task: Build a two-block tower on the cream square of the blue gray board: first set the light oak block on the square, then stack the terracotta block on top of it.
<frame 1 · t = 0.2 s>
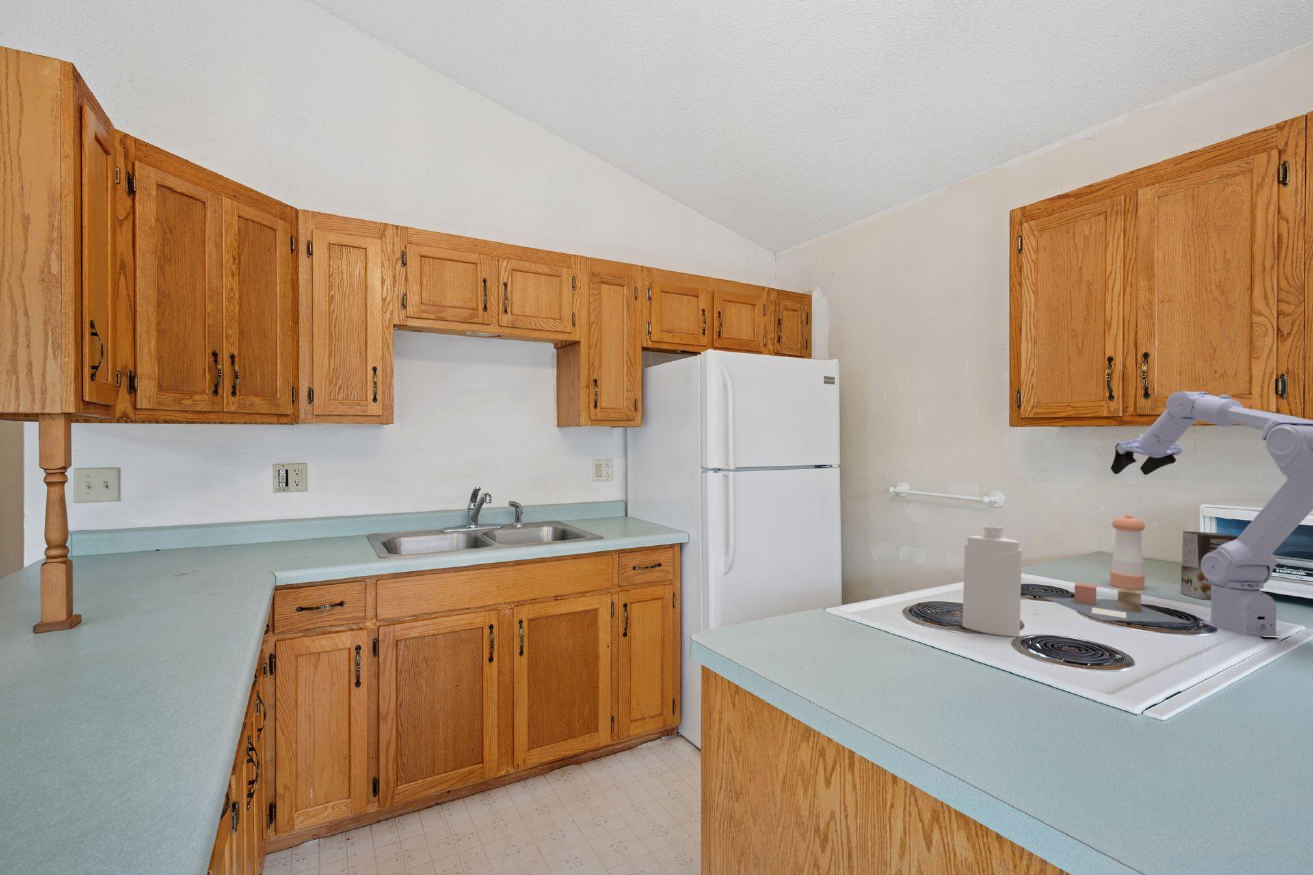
hand: (1128, 471, 154), 31 cm above the countertop, tool tilted 45°, fingers open, 7 cm apart
terracotta block: (1085, 602, 143), point 1 cm above the countertop, touching blue gray board
pepper shaker: (1126, 587, 166), on the countertop
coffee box: (1208, 598, 156), on the countertop
blue gray board: (1111, 611, 138), on the countertop
oak block: (1128, 608, 139), point 1 cm above the countertop, touching blue gray board
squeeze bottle: (990, 632, 119), on the countertop
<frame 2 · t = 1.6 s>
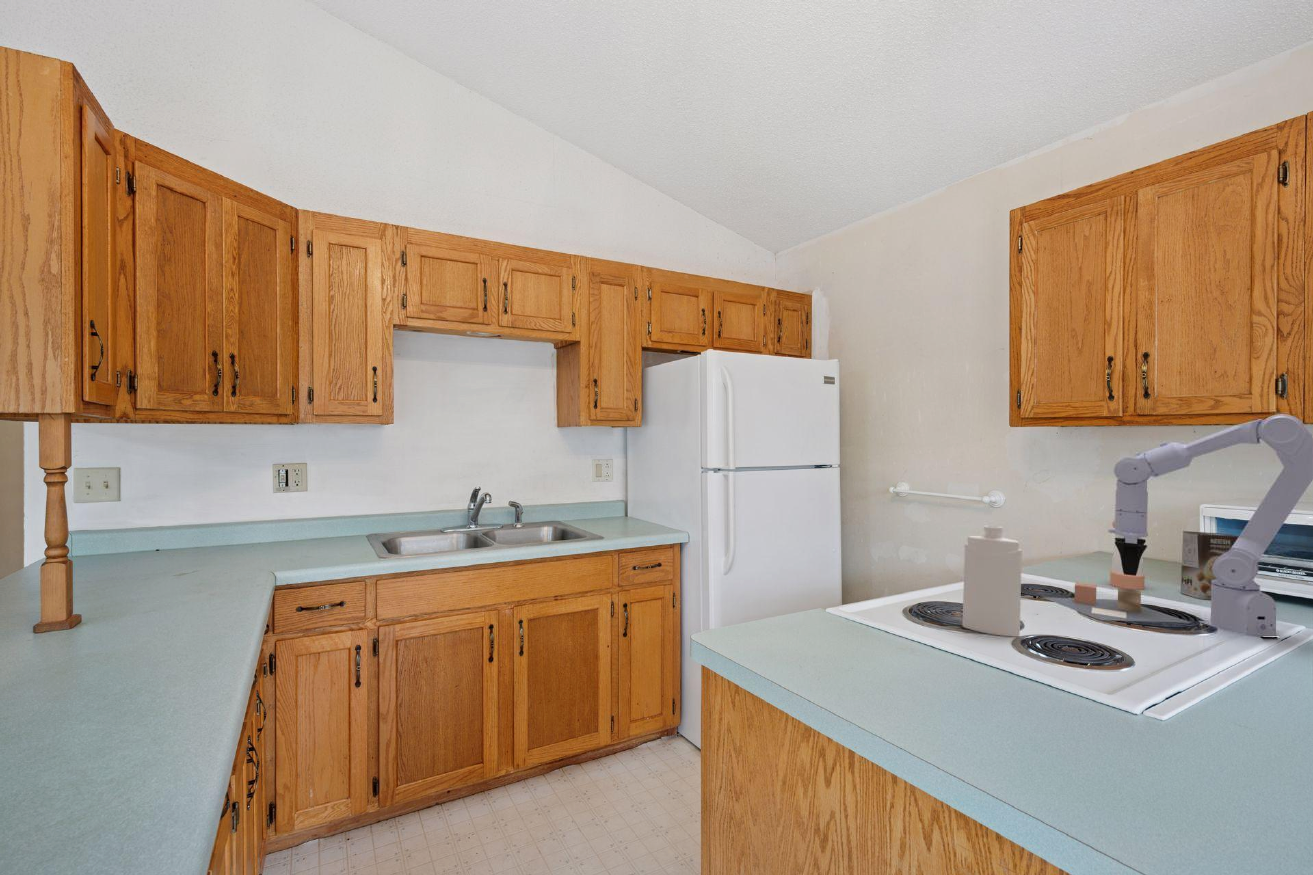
hand: (1129, 572, 139), 9 cm above the countertop, tool pointing down, fingers open, 7 cm apart
nothing on the countertop moved.
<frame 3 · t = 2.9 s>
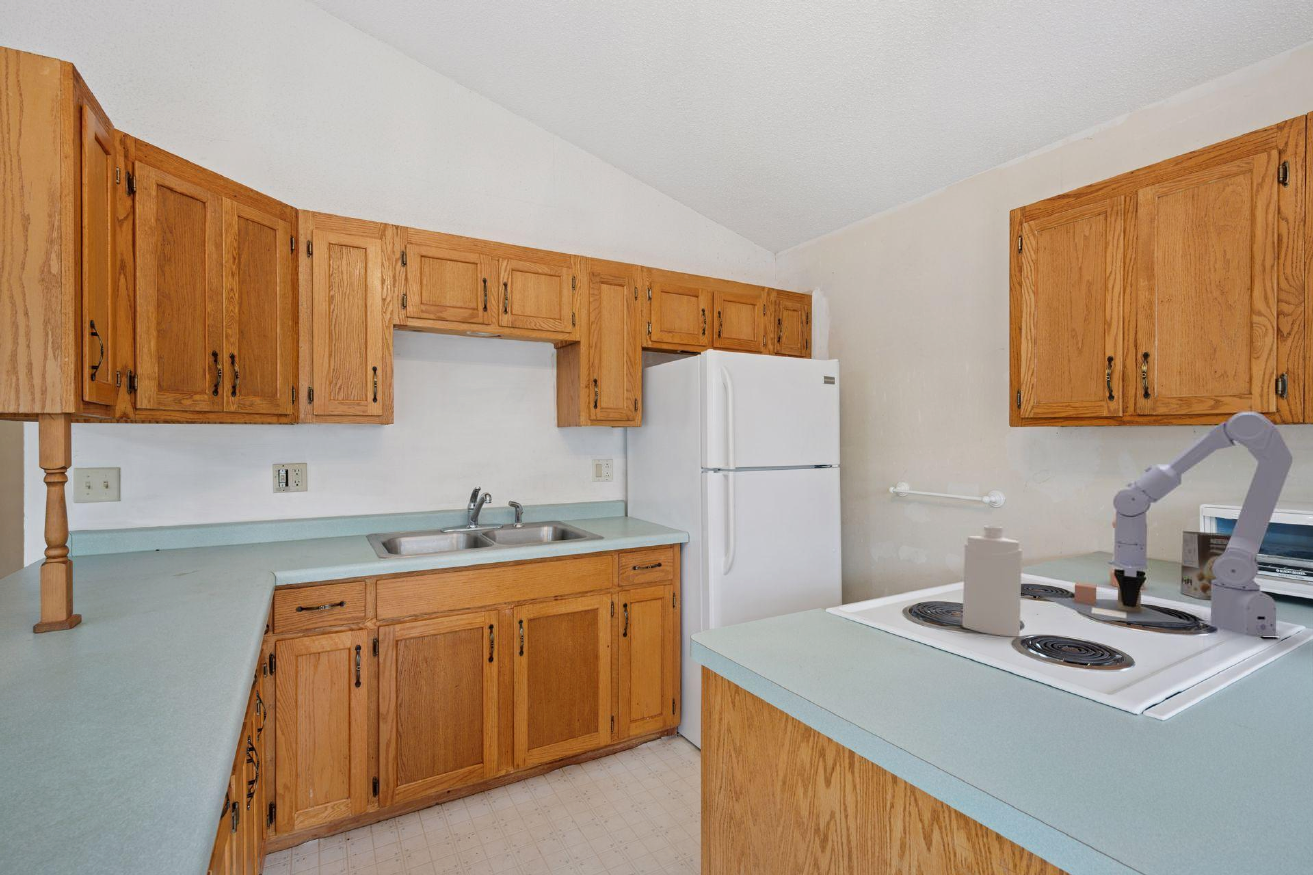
hand: (1128, 604, 139), 2 cm above the countertop, tool pointing down, fingers closed on oak block, 4 cm apart
oak block: (1128, 608, 139), point 1 cm above the countertop, touching blue gray board, gripper
everything else where it was.
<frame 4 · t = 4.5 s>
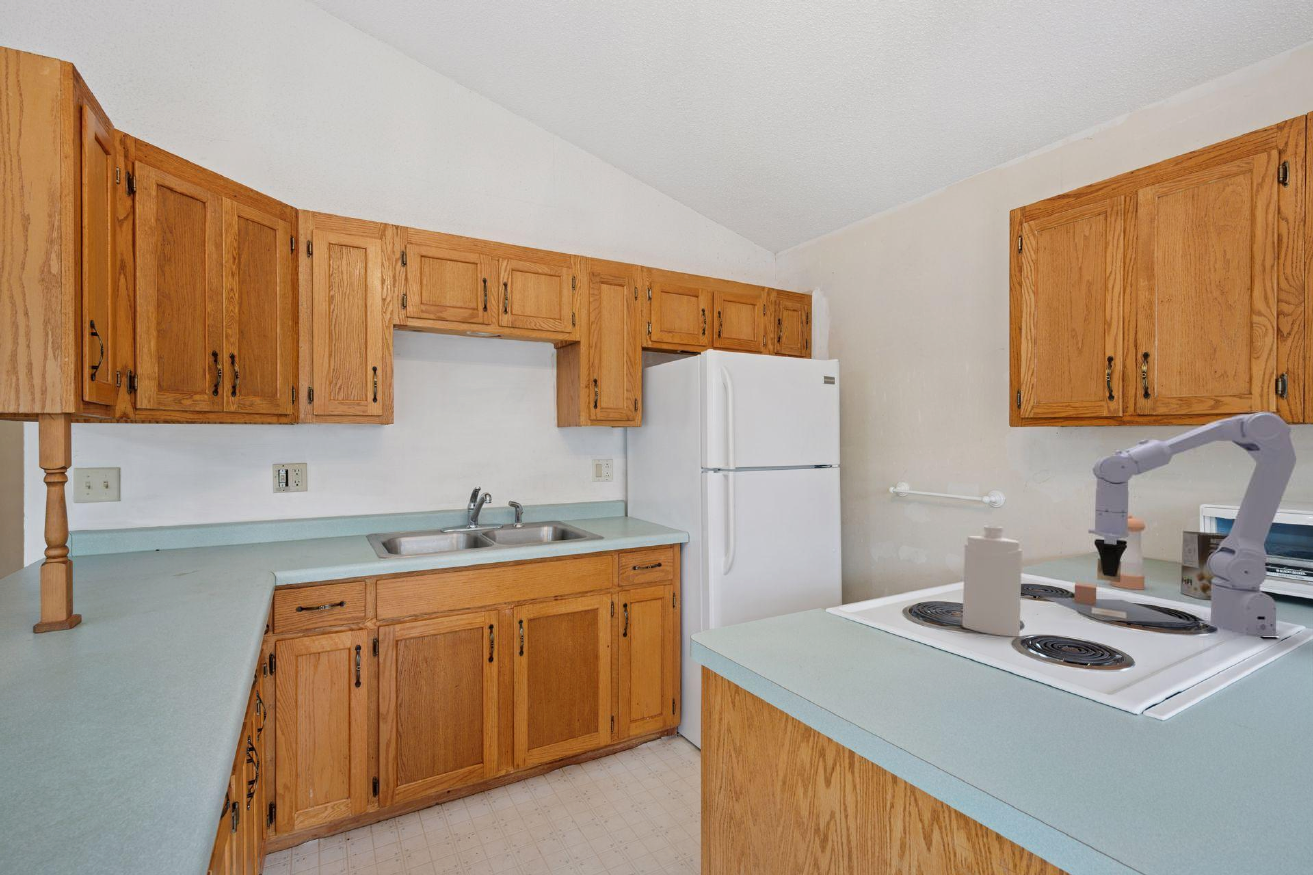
hand: (1109, 574, 134), 9 cm above the countertop, tool pointing down, fingers closed on oak block, 4 cm apart
oak block: (1108, 579, 134), point 8 cm above the countertop, touching gripper
everything else where it was.
when the fingers open (3 cm above the countertop, at t = 6.1 s): oak block stays where it is, resting on blue gray board.
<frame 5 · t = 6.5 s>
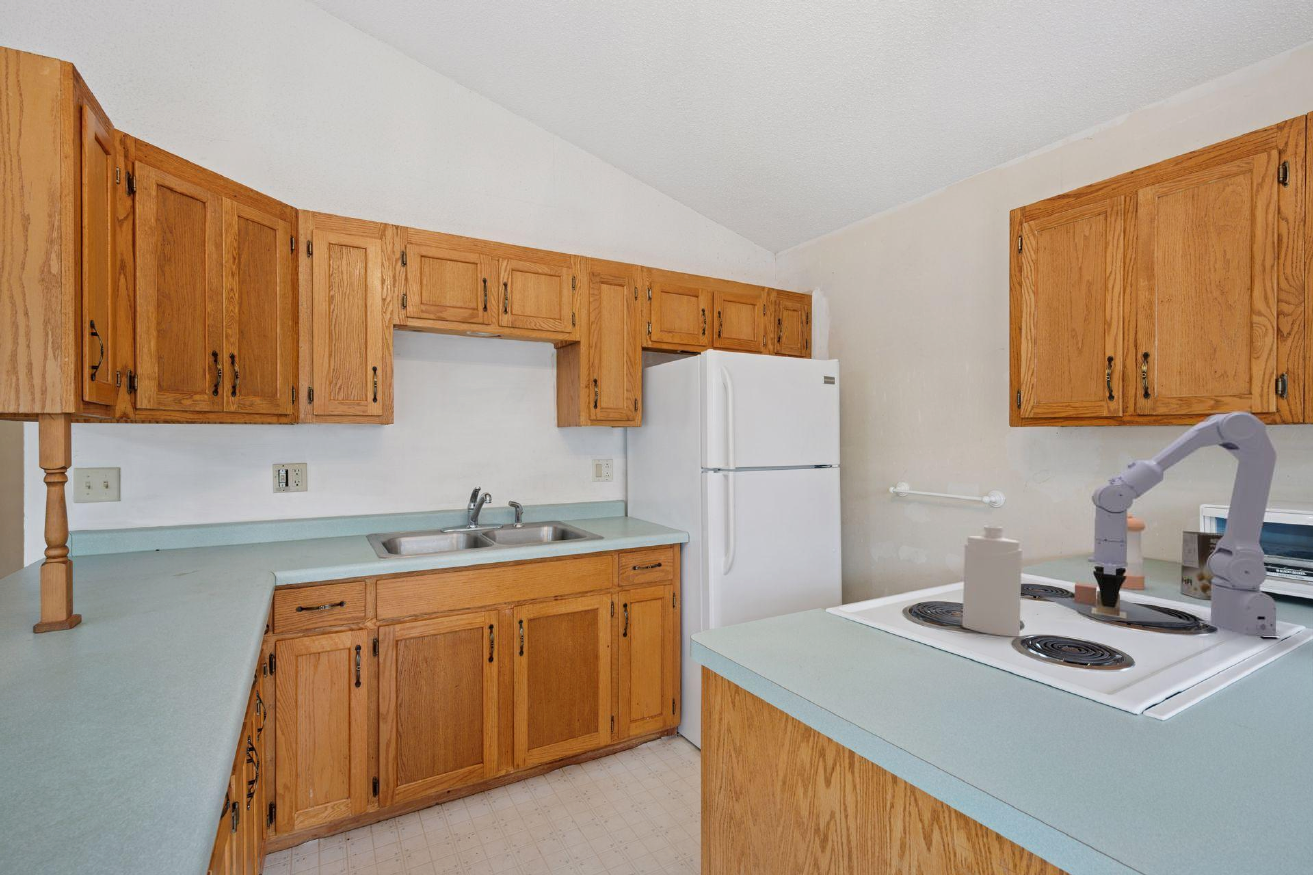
hand: (1109, 603, 134), 3 cm above the countertop, tool pointing down, fingers open, 7 cm apart
oak block: (1107, 612, 134), point 1 cm above the countertop, touching blue gray board
everything else where it was.
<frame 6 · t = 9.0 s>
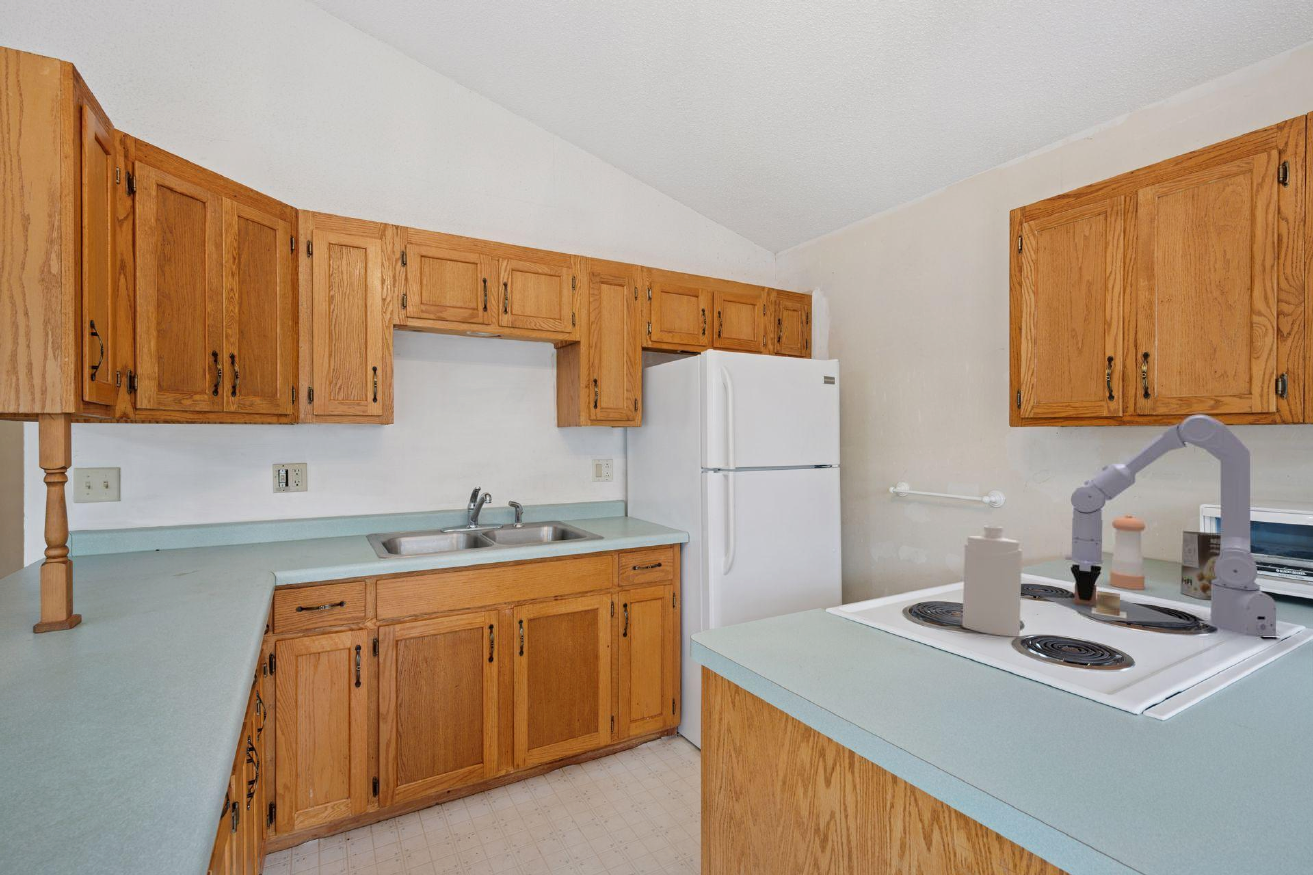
hand: (1085, 598, 143), 2 cm above the countertop, tool pointing down, fingers closed on terracotta block, 4 cm apart
terracotta block: (1085, 602, 143), point 1 cm above the countertop, touching blue gray board, gripper
everything else where it was.
when the fingers open (7 cm above the countertop, at t = 11.7 s): terracotta block stays where it is, resting on oak block.
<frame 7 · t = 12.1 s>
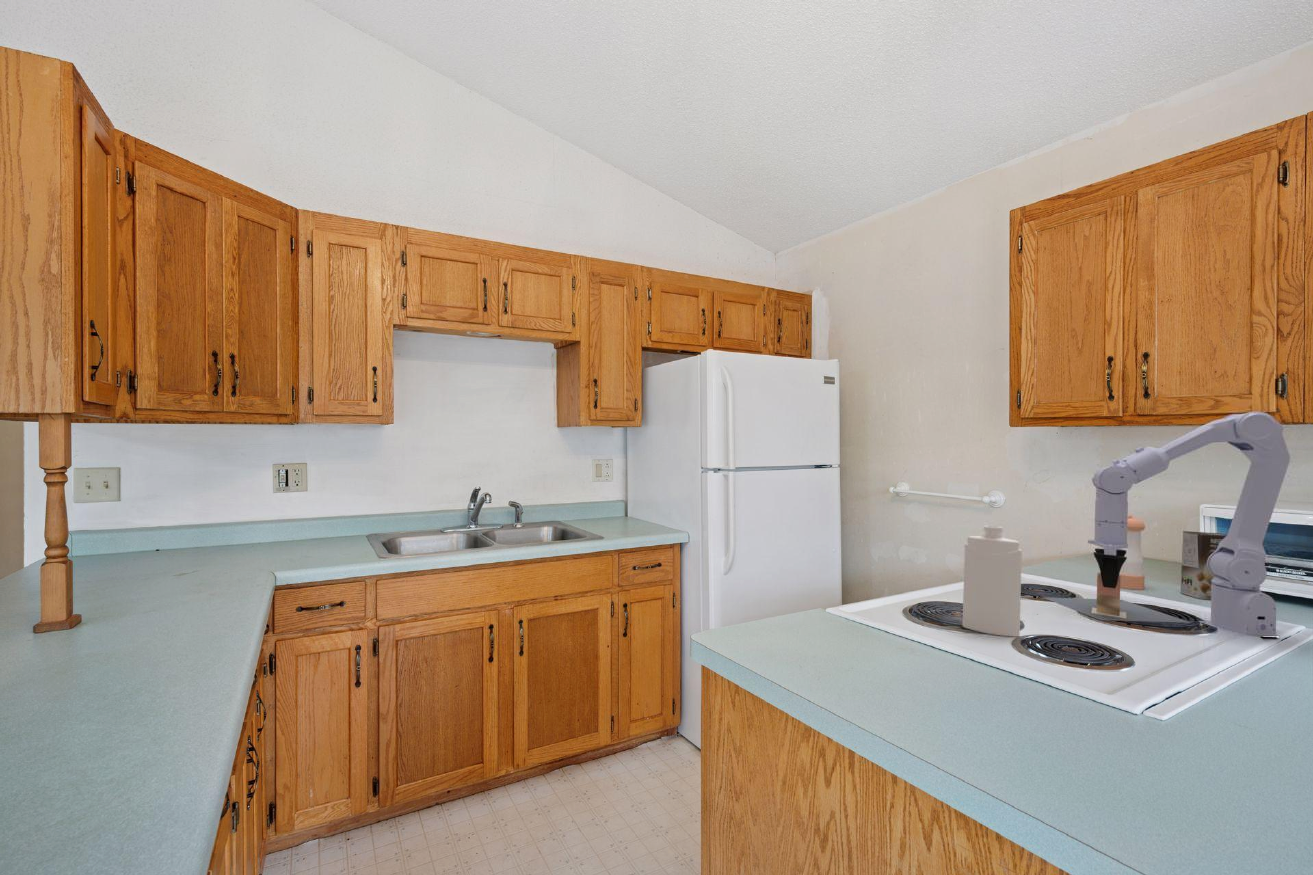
hand: (1109, 584, 134), 7 cm above the countertop, tool pointing down, fingers open, 7 cm apart
terracotta block: (1108, 593, 134), point 5 cm above the countertop, touching oak block
oak block: (1107, 612, 134), point 1 cm above the countertop, touching blue gray board, terracotta block
everything else where it was.
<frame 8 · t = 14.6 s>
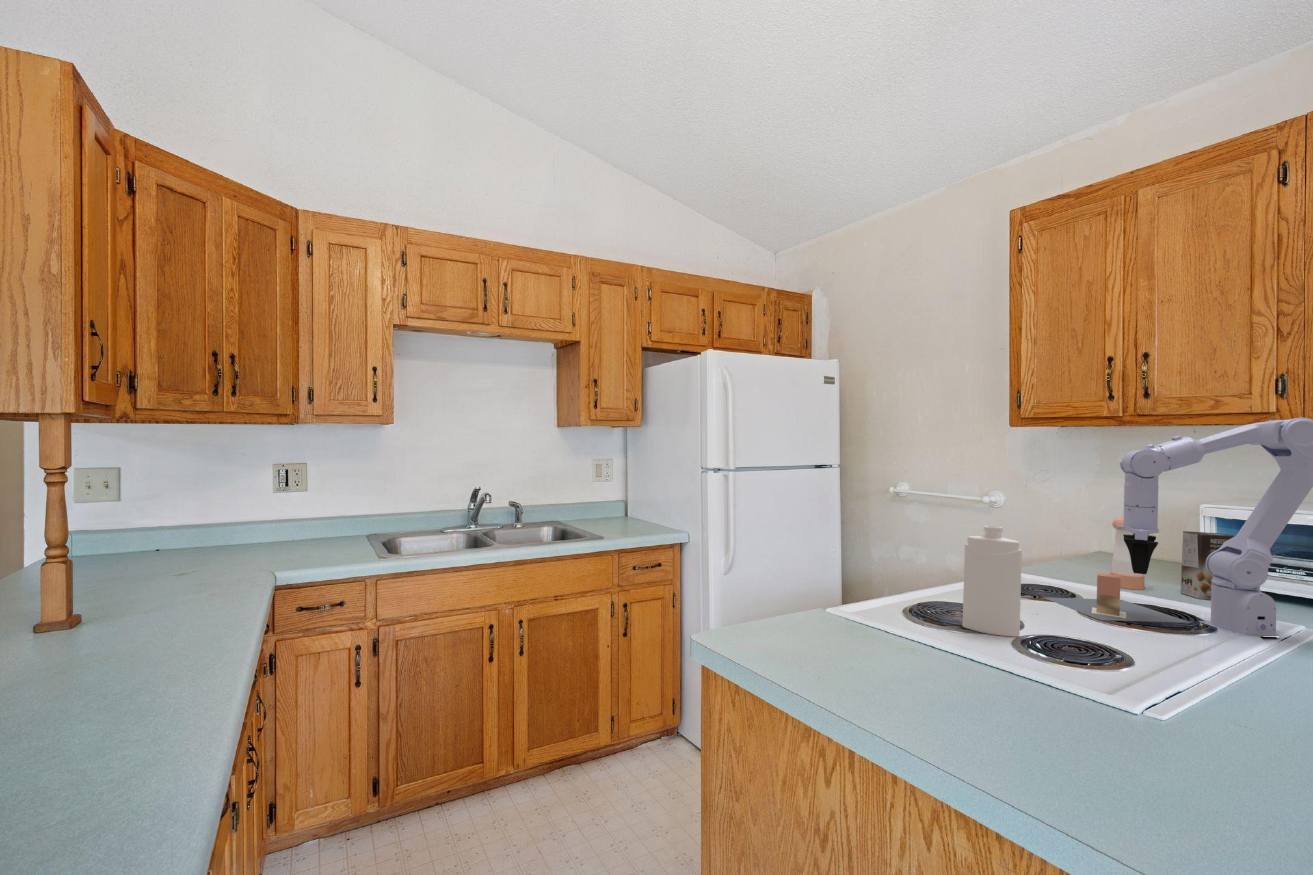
hand: (1139, 570, 131), 10 cm above the countertop, tool pointing down, fingers open, 7 cm apart
nothing on the countertop moved.
at the end: oak block 0.1 cm from the target spot, point 0.7 cm above the countertop; terracotta block 0.0 cm off-centre on the oak block, point 4.0 cm above the oak block's base; terracotta block tilted 0° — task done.
